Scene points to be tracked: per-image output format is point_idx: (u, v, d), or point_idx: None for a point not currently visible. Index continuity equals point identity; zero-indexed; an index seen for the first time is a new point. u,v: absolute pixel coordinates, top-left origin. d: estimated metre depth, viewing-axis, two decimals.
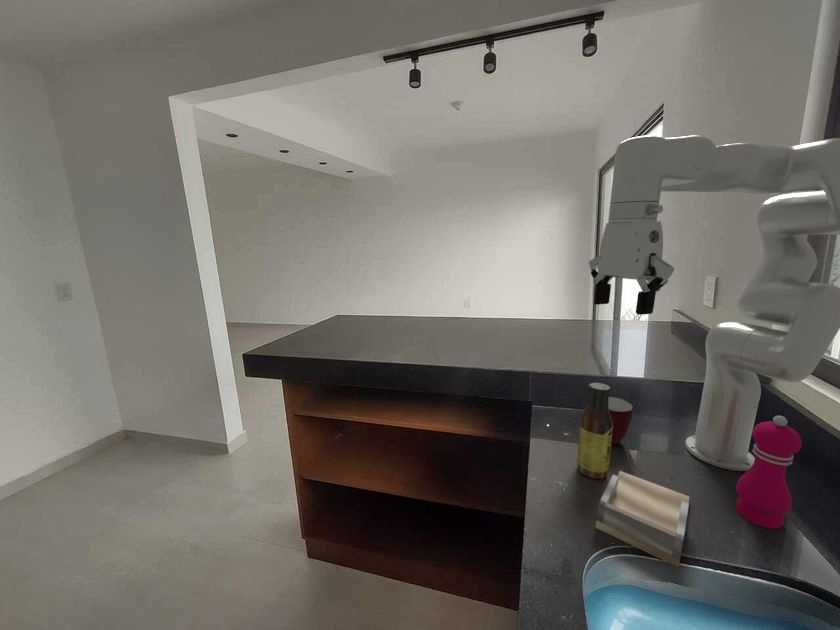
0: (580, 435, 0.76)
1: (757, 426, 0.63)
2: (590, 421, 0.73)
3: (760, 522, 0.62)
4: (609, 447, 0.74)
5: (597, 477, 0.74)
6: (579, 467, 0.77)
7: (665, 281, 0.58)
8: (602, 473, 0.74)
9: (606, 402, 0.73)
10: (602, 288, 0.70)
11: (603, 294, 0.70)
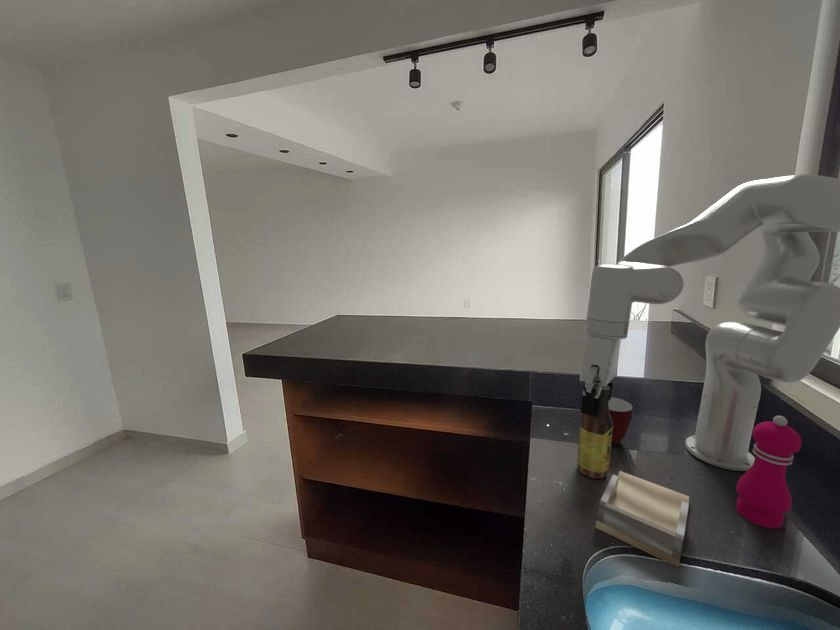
0: (580, 435, 0.76)
1: (757, 426, 0.63)
2: (590, 421, 0.73)
3: (760, 522, 0.62)
4: (609, 447, 0.74)
5: (597, 477, 0.74)
6: (579, 467, 0.77)
7: None
8: (602, 473, 0.74)
9: (606, 402, 0.73)
10: None
11: None
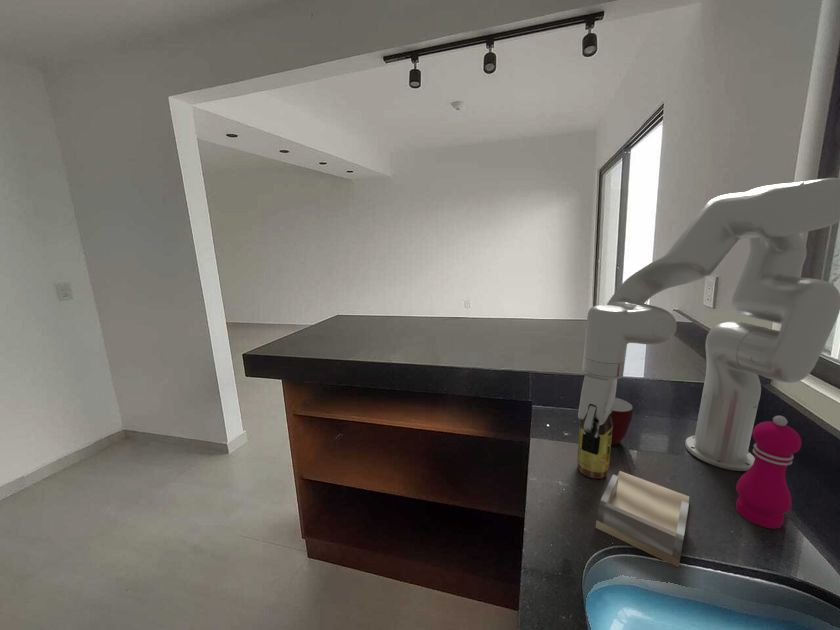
0: (580, 435, 0.76)
1: (757, 426, 0.63)
2: None
3: (760, 522, 0.62)
4: (609, 447, 0.74)
5: (597, 477, 0.74)
6: (579, 467, 0.77)
7: None
8: (602, 473, 0.74)
9: None
10: None
11: None
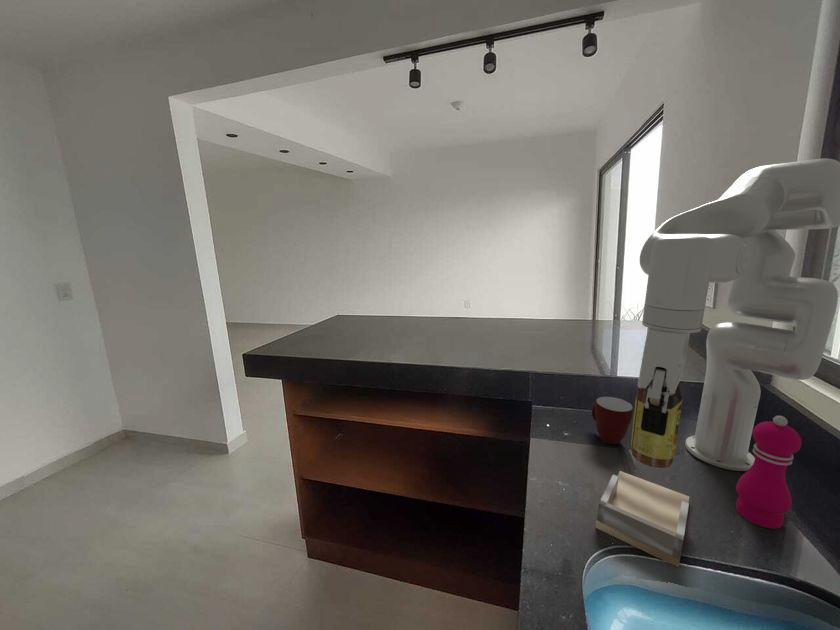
0: (637, 411, 0.58)
1: (757, 426, 0.63)
2: None
3: (760, 522, 0.62)
4: (677, 426, 0.56)
5: (661, 466, 0.57)
6: (635, 453, 0.59)
7: None
8: (667, 460, 0.56)
9: None
10: None
11: None
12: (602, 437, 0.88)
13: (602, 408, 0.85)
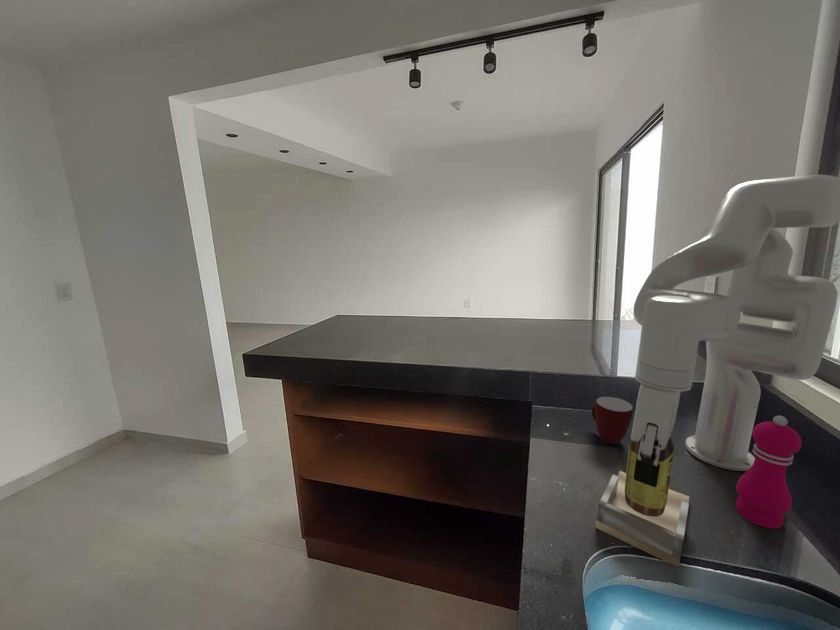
0: (630, 460, 0.60)
1: (757, 426, 0.63)
2: None
3: (760, 522, 0.62)
4: (669, 477, 0.58)
5: (653, 514, 0.59)
6: (628, 500, 0.61)
7: None
8: (659, 509, 0.58)
9: None
10: None
11: None
12: (602, 437, 0.88)
13: (602, 408, 0.85)
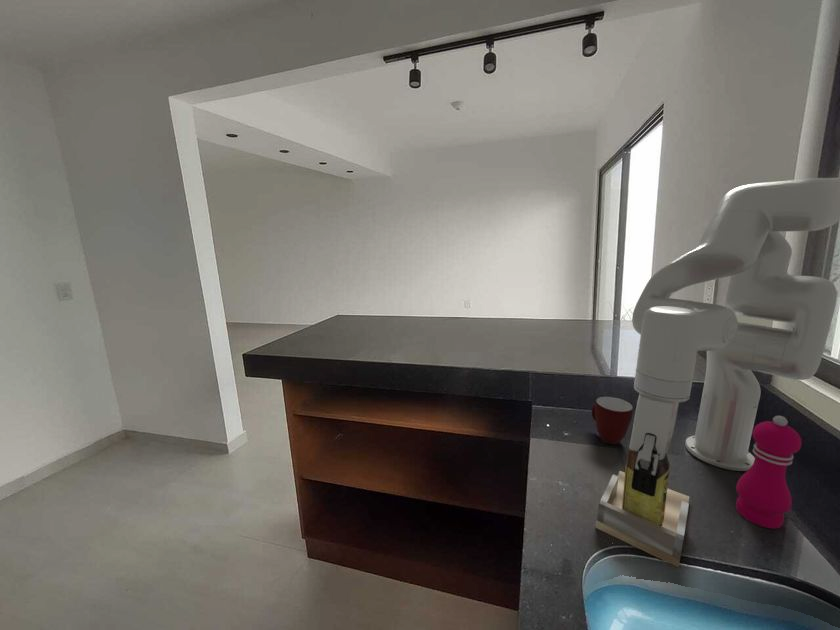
0: (627, 477, 0.61)
1: (757, 426, 0.63)
2: None
3: (760, 522, 0.62)
4: (665, 494, 0.59)
5: None
6: None
7: None
8: None
9: None
10: None
11: None
12: (602, 437, 0.88)
13: (602, 408, 0.85)
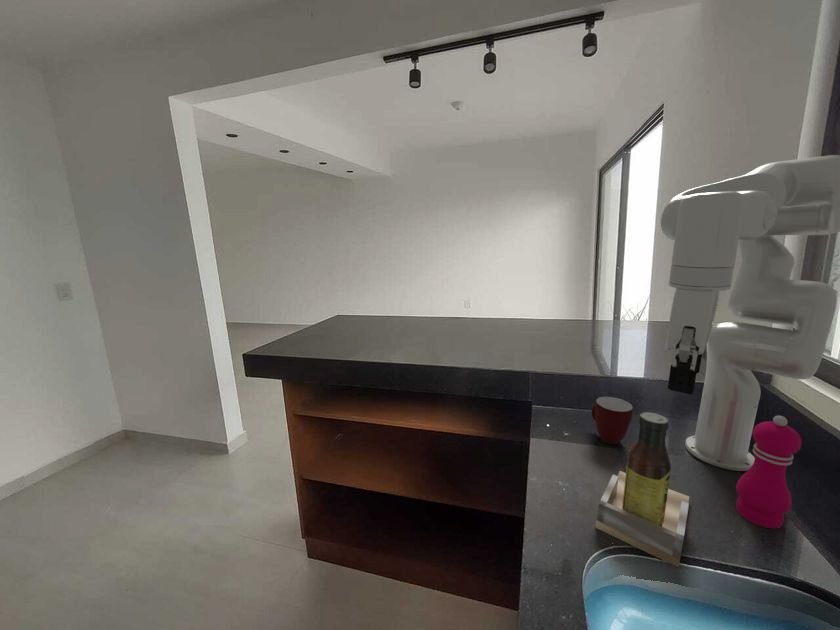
0: (627, 477, 0.61)
1: (757, 426, 0.63)
2: (642, 462, 0.58)
3: (760, 522, 0.62)
4: (666, 495, 0.59)
5: None
6: None
7: None
8: None
9: (663, 438, 0.58)
10: None
11: None
12: (602, 437, 0.88)
13: (602, 408, 0.85)
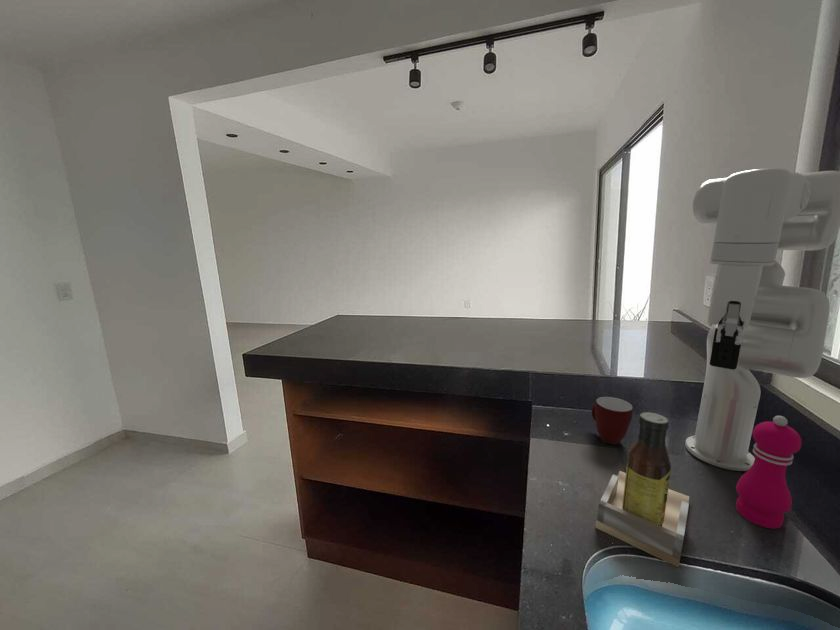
0: (628, 477, 0.61)
1: (757, 426, 0.63)
2: (642, 462, 0.58)
3: (760, 522, 0.62)
4: (666, 495, 0.59)
5: None
6: None
7: None
8: None
9: (663, 438, 0.58)
10: None
11: None
12: (602, 437, 0.88)
13: (602, 408, 0.85)
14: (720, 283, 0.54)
